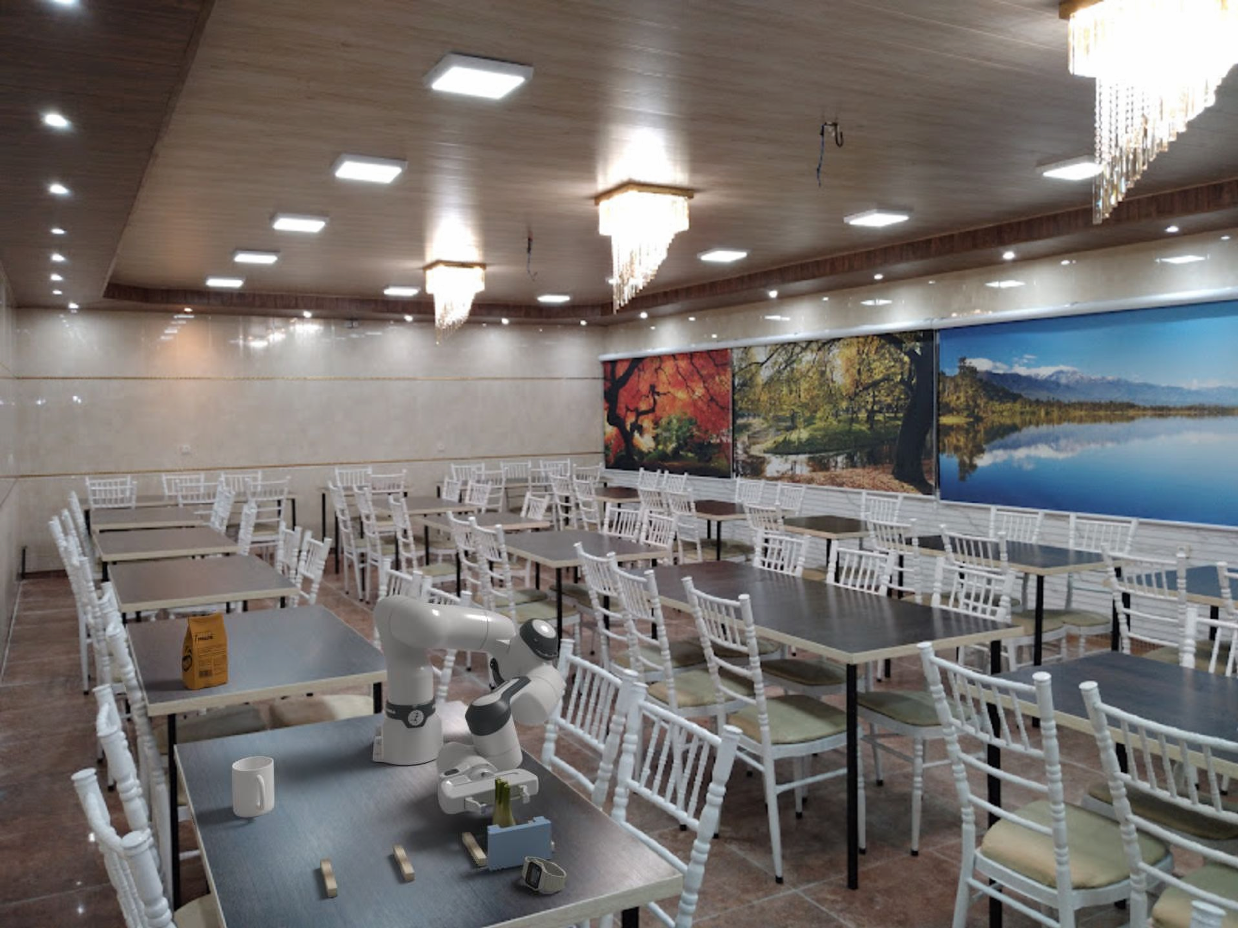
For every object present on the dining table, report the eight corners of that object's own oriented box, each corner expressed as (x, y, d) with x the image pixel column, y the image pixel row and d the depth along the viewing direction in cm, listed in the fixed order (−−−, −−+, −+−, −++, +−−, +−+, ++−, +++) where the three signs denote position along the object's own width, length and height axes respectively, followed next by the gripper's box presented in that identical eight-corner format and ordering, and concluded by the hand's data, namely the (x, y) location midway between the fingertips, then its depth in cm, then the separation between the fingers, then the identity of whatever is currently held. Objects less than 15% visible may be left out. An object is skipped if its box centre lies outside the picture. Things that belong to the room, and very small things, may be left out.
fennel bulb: (492, 833, 191) (491, 775, 191) (516, 832, 192) (516, 774, 191) (491, 846, 186) (490, 786, 185) (516, 845, 186) (516, 785, 185)
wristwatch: (514, 881, 172) (514, 854, 172) (539, 868, 177) (539, 842, 177) (549, 898, 166) (549, 870, 166) (574, 885, 171) (574, 858, 171)
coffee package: (178, 685, 296) (176, 615, 295) (219, 677, 305) (217, 609, 303) (190, 692, 289) (188, 620, 288) (231, 683, 298) (229, 614, 296)
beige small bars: (320, 867, 177) (320, 859, 177) (534, 826, 194) (534, 819, 194) (328, 897, 166) (328, 889, 166) (554, 851, 184) (554, 843, 183)
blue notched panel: (485, 862, 179) (484, 826, 179) (545, 850, 184) (545, 815, 183) (490, 871, 176) (490, 834, 175) (551, 858, 181) (551, 822, 180)
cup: (268, 798, 209) (267, 753, 209) (284, 817, 199) (283, 770, 199) (228, 807, 204) (227, 761, 204) (243, 827, 195) (241, 779, 194)
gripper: (522, 785, 205) (551, 808, 193) (431, 806, 194) (456, 831, 182) (522, 756, 205) (551, 777, 193) (431, 775, 194) (456, 799, 182)
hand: (504, 804), depth 187 cm, fingers open, 8 cm apart
